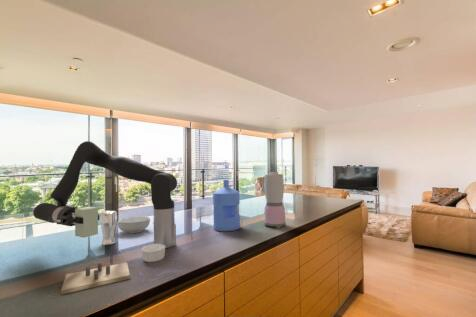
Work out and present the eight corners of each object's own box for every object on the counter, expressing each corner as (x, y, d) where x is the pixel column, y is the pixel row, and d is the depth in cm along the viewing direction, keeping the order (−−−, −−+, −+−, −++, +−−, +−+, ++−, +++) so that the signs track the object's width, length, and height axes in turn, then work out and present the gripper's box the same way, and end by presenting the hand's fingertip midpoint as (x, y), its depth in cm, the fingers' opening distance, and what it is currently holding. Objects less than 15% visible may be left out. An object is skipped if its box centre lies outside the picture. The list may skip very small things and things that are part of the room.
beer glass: (110, 245, 109) (109, 213, 110) (97, 245, 111) (97, 213, 111) (120, 241, 116) (120, 210, 117) (108, 240, 118) (108, 210, 118)
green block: (75, 235, 88) (75, 208, 88) (89, 232, 92) (89, 206, 92) (83, 237, 84) (83, 209, 85) (97, 234, 89) (97, 207, 89)
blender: (290, 225, 139) (288, 171, 140) (277, 229, 131) (275, 172, 132) (269, 221, 151) (268, 171, 152) (256, 225, 143) (255, 172, 144)
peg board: (126, 265, 87) (126, 255, 87) (129, 278, 76) (129, 266, 76) (66, 277, 78) (66, 266, 78) (61, 294, 67) (61, 281, 67)
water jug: (207, 229, 135) (206, 180, 136) (224, 223, 147) (223, 179, 148) (229, 233, 126) (228, 181, 127) (245, 226, 139) (244, 179, 140)
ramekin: (165, 261, 90) (165, 249, 90) (140, 264, 88) (140, 252, 88) (165, 253, 99) (165, 242, 99) (143, 255, 96) (143, 245, 96)
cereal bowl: (156, 229, 136) (156, 217, 137) (129, 237, 122) (129, 223, 123) (138, 226, 145) (138, 215, 146) (111, 233, 131) (111, 220, 132)
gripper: (46, 209, 89) (68, 212, 81) (86, 203, 102) (109, 206, 93) (46, 229, 89) (68, 234, 81) (86, 221, 102) (109, 225, 93)
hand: (90, 219), depth 87 cm, fingers closed on green block, 5 cm apart
